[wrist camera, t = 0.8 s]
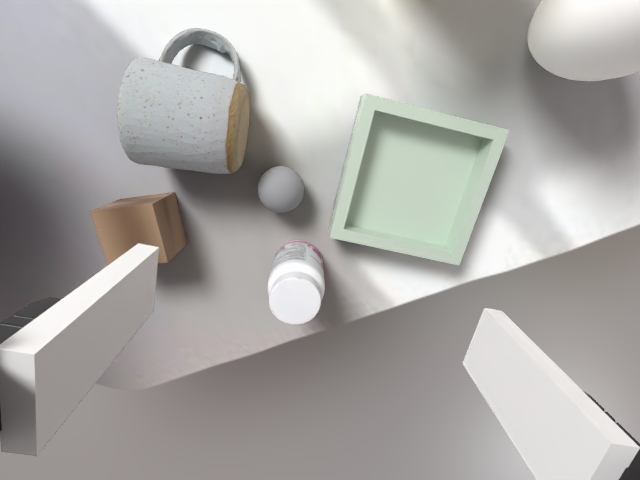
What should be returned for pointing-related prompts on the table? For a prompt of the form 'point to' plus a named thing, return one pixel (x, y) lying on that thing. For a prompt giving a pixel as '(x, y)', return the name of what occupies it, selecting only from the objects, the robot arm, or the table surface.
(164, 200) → the walnut block
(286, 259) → the pill bottle
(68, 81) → the table surface
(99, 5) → the table surface
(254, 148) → the table surface
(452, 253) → the tray
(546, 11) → the sauce bottle
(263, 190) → the rubber ball
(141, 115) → the ceramic mug
